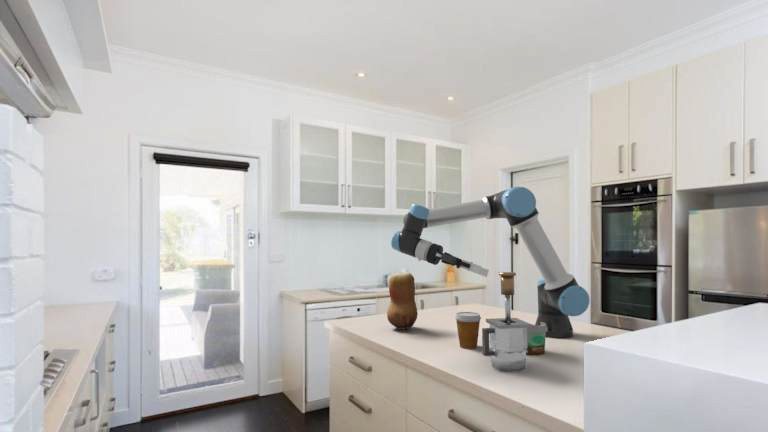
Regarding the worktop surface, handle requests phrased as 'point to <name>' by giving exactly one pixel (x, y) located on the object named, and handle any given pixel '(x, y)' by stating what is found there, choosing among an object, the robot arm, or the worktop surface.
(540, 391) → the worktop surface
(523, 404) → the worktop surface
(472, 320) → the disposable coffee cup
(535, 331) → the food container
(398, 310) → the butternut squash
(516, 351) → the press carafe
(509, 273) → the plunger
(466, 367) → the worktop surface
